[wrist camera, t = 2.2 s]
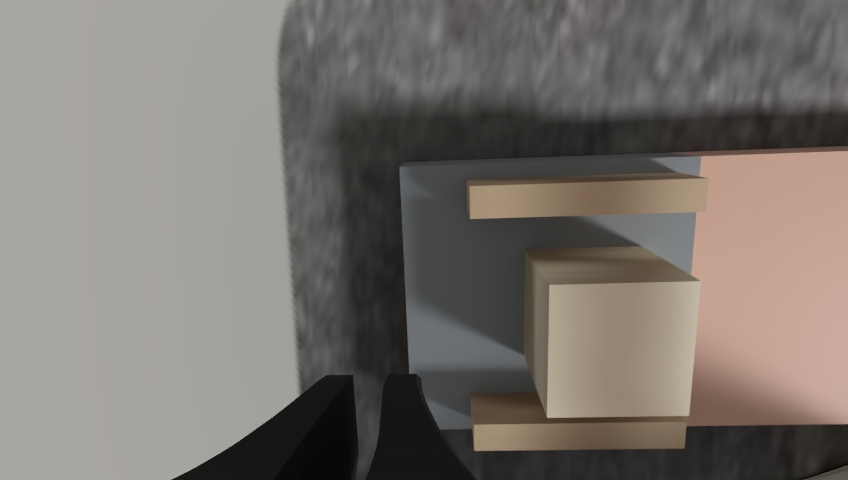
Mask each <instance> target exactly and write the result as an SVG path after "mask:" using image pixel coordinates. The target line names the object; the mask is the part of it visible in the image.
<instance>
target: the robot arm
mask: <svg viewBox="0 0 848 480" xmlns="http://www.w3.org/2000/svg"><path fill="white" fill-rule="evenodd" d="M358 457H359V450H358V436H357V423H356V410H355V397H354V384H353V375H326V376H325V377H323V378H322V379H320V380H319V381H318V382H316V383H315V384H314V385H313V386H311V387H310V388H309V389H308V390H307V391H305V392H304V393H303V394H302V395H300V396H299V397H298V398H297V399H295V400H294V401H293V402H292V403H291V404H289V405H288V406H287V407H285V408H284V409H283V410H282V411H280V412H279V413H278V414H277V415H275V416H274V417H273V418H271V419H270V420H268V421H267V422H266V423H264V424H263V425H261V426H260V427H258V428H257V429H256V430H254V431H253V432H252V433H250V434H249V435H247V436H246V437H244V438H243V439H242V440H240V441H239V442H237V443H236V444H234V445H233V446H232V447H229V448H228V449H226V450H225V451H223V452H221V453H220V454H218V455H216V456H215V457H213V458H211V459H210V460H208V461H206V462H205V463H203V464H201V465H199V466H197V467H196V468H194V469H192V470H190V471H188V472H186V473H184V474H182V475H180V476H178V477H176V478H174V479H172V480H355V476H356V470H357V464H358ZM366 480H477V479H476V478H475V477H474V476H473V475H472V473H471V472H470V471H469V470H468V469H467V468H466V466H465V465H464V464H463V463H462V461H461V460H460V459H459V457H458V456H457V455H456V453H455V452H454V451H453V449H452V448H451V446H450V445H449V443H448V442H447V440H446V438H445V437H444V435H443V434H442V432H441V430H440V428H439V427H438V425H437V423H436V421H435V419H434V417H433V415H432V413H431V411H430V409H429V407H428V404H427V402H426V399H425V396H424V394H423V390H422V381H421V378H420V377H419V376H418V375H417V374H389V376H388V377H387V379H386V381H385V384H384V386H383V396H382V407H381V419H380V430H379V438H378V443H377V448H376V451H375V454H374V457H373V460H372V463H371V467H370V470H369V473H368V475H367V478H366Z"/></svg>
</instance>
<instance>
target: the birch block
mask: <svg viewBox="0 0 848 480" xmlns="http://www.w3.org/2000/svg"><path fill="white" fill-rule="evenodd" d="M700 288H701V281H700V280H698V279H697V278H695V277H693V276H692V275H690V274H688V273H687V272H685V271H683V270H681V269H680V268H678V267H676V266H675V265H673V264H671V263H670V262H668V261H666V260H664V259H663V258H661V257H659V256H658V255H656V254H654V253H653V252H651V251H649V250H648V249H646V248H644V247H642V246H627V247H592V248H556V249H525V313H524V356H525V359H526V362H527V365H528V367H529V370H530V373H531V376H532V378H533V381H534V384H535V386H536V389H537V392H538V395H539V397H540V400H541V403H542V406H543V408H544V411H545V414H546V417H547V418H574V417H644V416H689V411H690V400H691V389H692V378H693V366H694V355H695V344H696V333H697V322H698V311H699V299H700Z"/></svg>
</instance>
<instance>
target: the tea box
mask: <svg viewBox="0 0 848 480" xmlns="http://www.w3.org/2000/svg"><path fill="white" fill-rule="evenodd" d="M804 480H848V465H847V466H844V467H841V468H838V469H835V470H832V471H829V472H826V473H823V474H820V475H817V476H814V477H811V478H807V479H804Z"/></svg>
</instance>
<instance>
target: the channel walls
mask: <svg viewBox="0 0 848 480" xmlns="http://www.w3.org/2000/svg"><path fill="white" fill-rule="evenodd" d="M708 179H709V178H705V177H699V176H694V175H689V174H684V173H678V172H669V173H640V174H611V175H582V176H552V177H523V178H494V179H466V192H467V211H468V214H469V217H470V219H490V218H522V217H554V216H587V215H619V214H652V213H684V212H706V201H707V190H708ZM470 406H471V425H472V435H473V445H474V451H517V450H603V449H685V438H686V427H687V421H686V420H685V419H684V418H683V416H644V417H574V418H547V417H546V414H545V411H544V408H543V406H542V403H541V400H540V397H539V395H538V392H528V393H470Z"/></svg>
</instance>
